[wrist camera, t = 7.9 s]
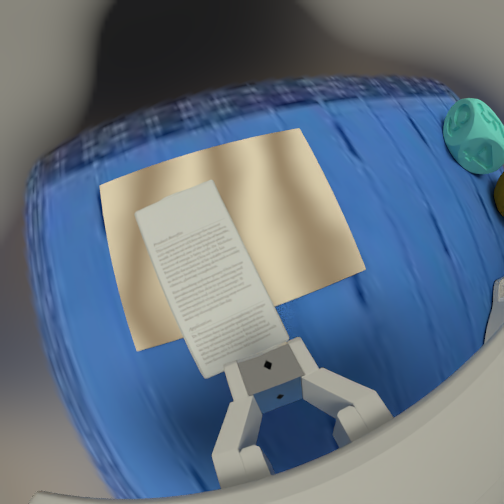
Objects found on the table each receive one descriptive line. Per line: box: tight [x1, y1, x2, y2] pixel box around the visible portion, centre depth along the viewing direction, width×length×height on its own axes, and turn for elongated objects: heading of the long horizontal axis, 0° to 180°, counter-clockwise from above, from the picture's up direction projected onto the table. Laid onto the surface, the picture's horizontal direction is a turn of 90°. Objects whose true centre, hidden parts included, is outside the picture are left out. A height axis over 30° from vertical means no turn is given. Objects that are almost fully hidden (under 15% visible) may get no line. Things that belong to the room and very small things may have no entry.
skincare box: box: [134, 180, 289, 379], centre depth 19 cm, size 6×4×12 cm
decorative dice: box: [443, 98, 504, 174], centre depth 25 cm, size 8×8×8 cm
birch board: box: [100, 128, 366, 351], centre depth 22 cm, size 20×15×1 cm
